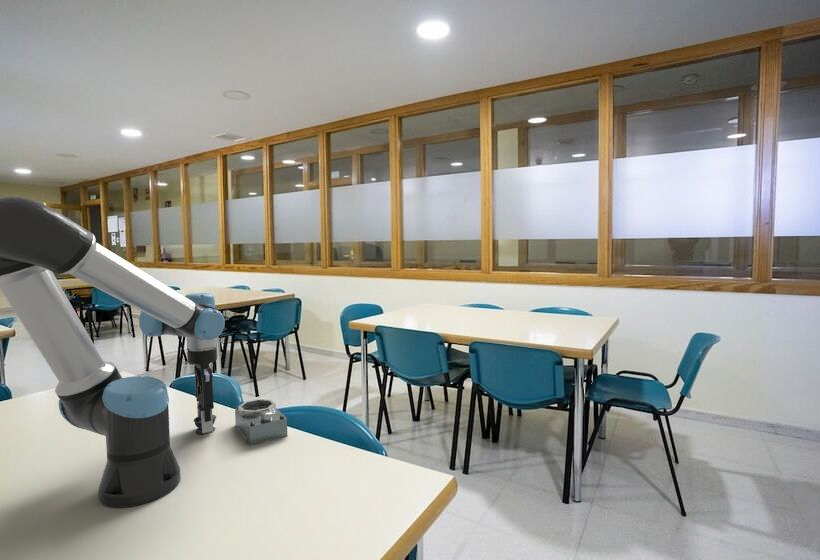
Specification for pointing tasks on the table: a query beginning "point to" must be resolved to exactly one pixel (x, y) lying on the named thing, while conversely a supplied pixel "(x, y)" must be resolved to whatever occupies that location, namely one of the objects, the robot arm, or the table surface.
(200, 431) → the dark grey tapered piece
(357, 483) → the table surface
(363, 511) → the table surface
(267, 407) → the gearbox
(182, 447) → the table surface
